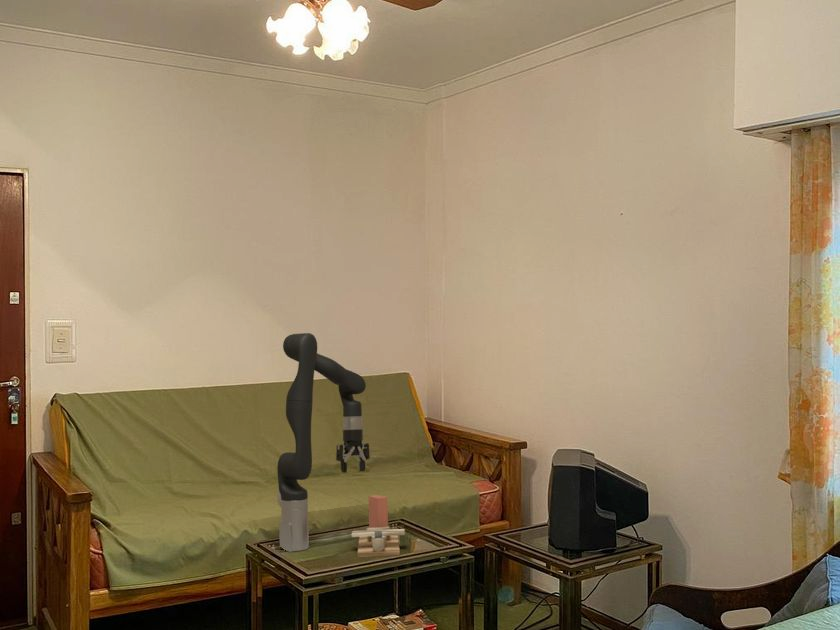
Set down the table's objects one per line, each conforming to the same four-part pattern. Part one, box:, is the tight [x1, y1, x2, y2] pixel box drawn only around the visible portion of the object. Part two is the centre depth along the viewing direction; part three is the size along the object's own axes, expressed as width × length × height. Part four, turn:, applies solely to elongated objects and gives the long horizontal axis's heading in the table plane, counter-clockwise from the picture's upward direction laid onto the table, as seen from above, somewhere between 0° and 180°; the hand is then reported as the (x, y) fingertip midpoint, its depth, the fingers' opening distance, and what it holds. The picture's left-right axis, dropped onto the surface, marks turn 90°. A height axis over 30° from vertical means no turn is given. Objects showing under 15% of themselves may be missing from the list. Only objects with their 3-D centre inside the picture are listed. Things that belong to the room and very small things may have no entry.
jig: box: [351, 526, 406, 558], centre depth 295 cm, size 28×18×7 cm, turn 3°
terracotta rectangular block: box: [368, 494, 389, 528], centre depth 315 cm, size 7×4×14 cm, turn 33°
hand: (353, 471), depth 320 cm, fingers open, 8 cm apart
